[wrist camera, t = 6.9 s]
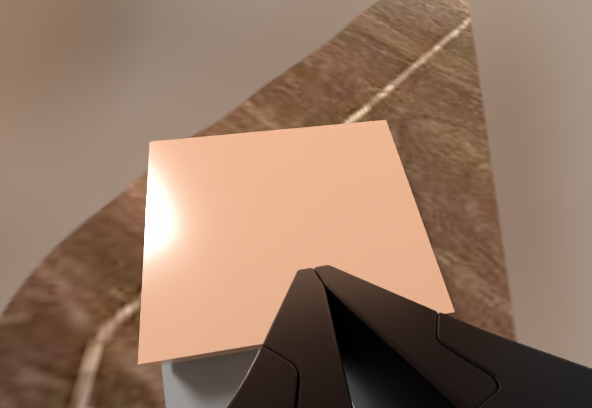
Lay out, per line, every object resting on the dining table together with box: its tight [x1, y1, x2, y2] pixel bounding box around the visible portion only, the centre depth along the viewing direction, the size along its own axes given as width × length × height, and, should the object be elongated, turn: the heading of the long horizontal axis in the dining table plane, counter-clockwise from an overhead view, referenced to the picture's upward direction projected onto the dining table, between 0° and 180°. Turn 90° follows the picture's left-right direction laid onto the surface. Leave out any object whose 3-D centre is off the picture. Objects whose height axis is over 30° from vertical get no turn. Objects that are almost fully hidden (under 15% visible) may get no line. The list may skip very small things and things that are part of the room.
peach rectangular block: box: [138, 120, 455, 365], centre depth 14 cm, size 3×11×9 cm
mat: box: [162, 349, 355, 408], centre depth 14 cm, size 9×11×1 cm
